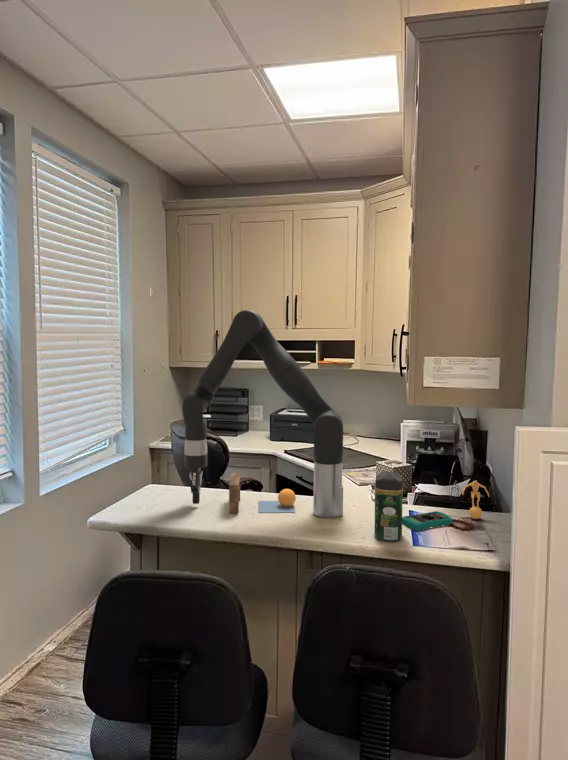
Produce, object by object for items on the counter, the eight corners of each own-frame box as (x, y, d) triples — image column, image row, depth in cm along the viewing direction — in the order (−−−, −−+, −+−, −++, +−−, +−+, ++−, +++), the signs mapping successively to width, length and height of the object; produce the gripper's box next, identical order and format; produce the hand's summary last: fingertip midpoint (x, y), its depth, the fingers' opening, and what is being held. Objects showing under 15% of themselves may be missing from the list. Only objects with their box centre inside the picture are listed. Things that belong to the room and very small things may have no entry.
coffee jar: (374, 529, 155) (376, 468, 154) (401, 531, 154) (403, 470, 152) (373, 541, 146) (374, 476, 144) (401, 544, 144) (403, 478, 143)
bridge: (240, 500, 182) (240, 473, 181) (238, 514, 167) (238, 485, 166) (231, 500, 182) (231, 473, 181) (229, 514, 167) (229, 485, 166)
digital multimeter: (453, 525, 160) (454, 516, 160) (415, 533, 154) (415, 523, 154) (437, 518, 167) (437, 509, 167) (400, 525, 160) (400, 515, 160)
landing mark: (292, 501, 181) (292, 500, 181) (295, 512, 169) (295, 512, 169) (258, 501, 181) (258, 500, 181) (258, 512, 169) (258, 512, 169)
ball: (294, 485, 178) (276, 487, 178) (295, 490, 172) (277, 492, 172) (295, 502, 179) (278, 504, 179) (297, 508, 173) (279, 510, 173)
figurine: (462, 519, 164) (464, 482, 163) (460, 513, 170) (461, 477, 169) (490, 521, 162) (491, 484, 161) (486, 515, 168) (488, 479, 167)
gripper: (205, 456, 166) (205, 509, 167) (209, 448, 179) (209, 497, 181) (181, 456, 166) (181, 509, 167) (187, 448, 179) (187, 497, 180)
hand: (196, 503), depth 174 cm, fingers closed
